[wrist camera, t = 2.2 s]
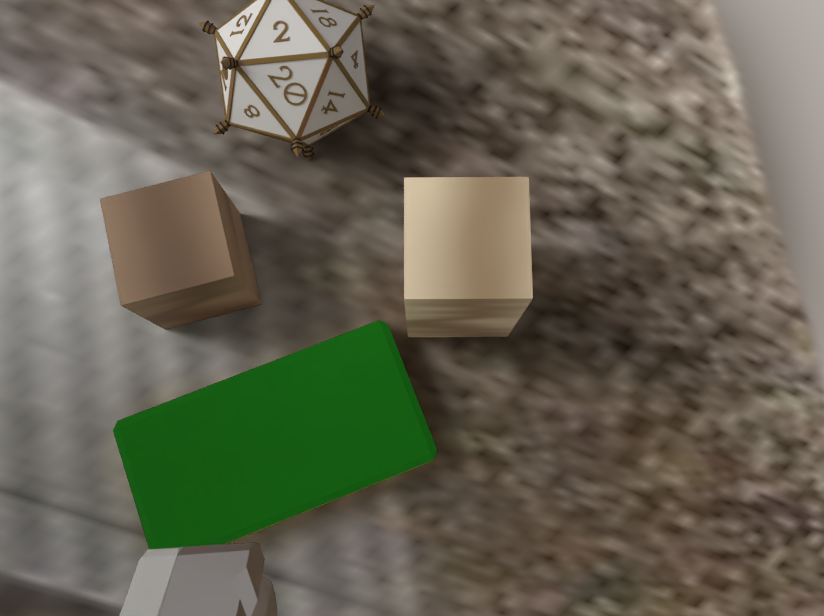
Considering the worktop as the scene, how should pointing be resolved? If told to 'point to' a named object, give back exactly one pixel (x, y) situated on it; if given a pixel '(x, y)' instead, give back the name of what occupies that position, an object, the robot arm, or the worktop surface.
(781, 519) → the worktop surface
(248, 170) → the worktop surface
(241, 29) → the game die
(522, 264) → the maple block
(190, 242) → the walnut block
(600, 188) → the worktop surface
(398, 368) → the dish sponge
